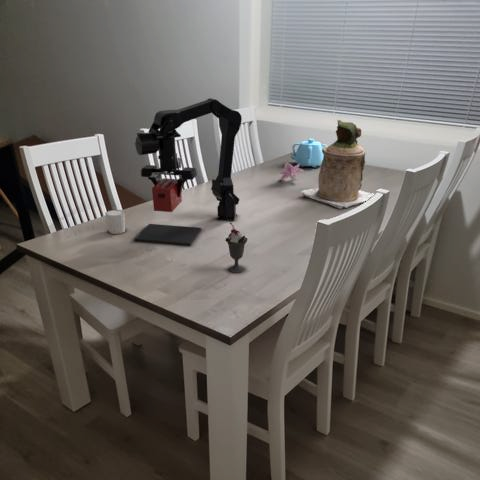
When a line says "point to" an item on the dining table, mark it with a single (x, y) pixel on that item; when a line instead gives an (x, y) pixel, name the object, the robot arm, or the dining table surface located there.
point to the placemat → (168, 234)
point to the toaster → (166, 195)
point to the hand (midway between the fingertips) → (170, 196)
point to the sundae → (236, 248)
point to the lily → (290, 171)
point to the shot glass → (116, 221)
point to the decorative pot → (308, 153)
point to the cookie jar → (341, 170)
